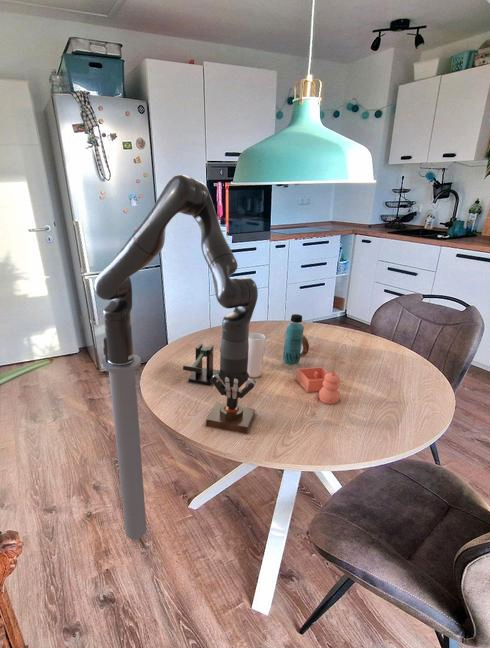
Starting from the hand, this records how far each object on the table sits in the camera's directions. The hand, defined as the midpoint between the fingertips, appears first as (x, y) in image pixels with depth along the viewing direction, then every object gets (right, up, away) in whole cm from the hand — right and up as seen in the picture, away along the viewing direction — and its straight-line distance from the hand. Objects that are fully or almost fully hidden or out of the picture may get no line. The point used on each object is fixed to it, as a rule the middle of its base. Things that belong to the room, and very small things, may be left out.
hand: (231, 408), depth 111 cm
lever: (-11, +13, +17) cm, 24 cm away
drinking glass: (+8, +8, +29) cm, 31 cm away
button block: (0, -4, +2) cm, 4 cm away
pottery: (+30, +3, +20) cm, 36 cm away
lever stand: (-9, +8, +26) cm, 28 cm away
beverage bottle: (+23, +12, +38) cm, 46 cm away
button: (0, -2, +1) cm, 2 cm away
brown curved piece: (+27, +17, +50) cm, 59 cm away
